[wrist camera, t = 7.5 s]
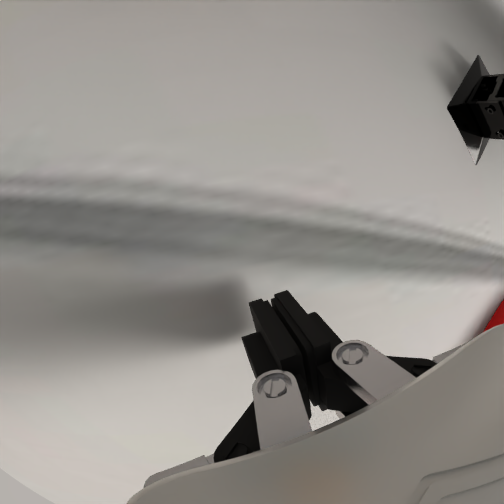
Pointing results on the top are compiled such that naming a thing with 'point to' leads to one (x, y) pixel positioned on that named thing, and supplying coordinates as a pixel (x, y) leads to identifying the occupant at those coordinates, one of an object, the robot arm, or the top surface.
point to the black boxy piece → (479, 108)
